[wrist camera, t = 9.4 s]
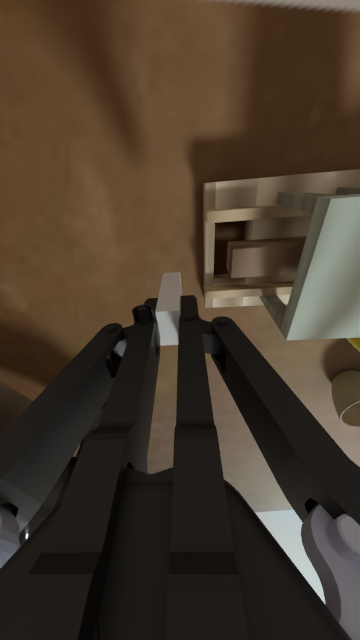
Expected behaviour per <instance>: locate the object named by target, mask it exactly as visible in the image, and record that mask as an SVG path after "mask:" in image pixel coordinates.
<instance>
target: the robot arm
mask: <svg viewBox="0 0 360 640" xmlns="http://www.w3.org/2000/svg"><path fill="white" fill-rule="evenodd" d="M132 313H133V317H134V321H135V322H134V325H132V326H129V327H125V328H122V325H120V324H118V323H112V324H108V325H106V326H105V327H103V328H102V329H101V330H100V331H99V332H98V333H97V334H96V335H95V336H94V338H93V339H92V340H91V341H90V342H89V343H88V344H87V345H86V346H85V347H84V348H83V349H82V350H81V351H80V352H79V353H78V355H77V356H76V357H75V358H74V359H73V360H72V361H71V362H70V363H69V364H68V365H67V366H66V367H65V368H64V369H63V370H62V372H61V373H60V374H59V375H58V376H57V377H56V378H55V379H54V380H53V381H52V382H51V383H50V384H49V385H48V386H47V387H46V389H45V390H44V391H43V392H42V393H41V394H40V395H39V396H38V397H37V398H36V399H35V400H34V401H33V402H32V404H30V406H29V407H28V408H27V409H26V410H25V411H24V412H23V413H22V414H21V415H20V416H19V417H18V418H17V419H16V421H15V422H14V423H13V424H12V425H11V426H10V427H9V428H8V429H7V430H6V431H5V432H4V433H3V434H2V435H1V437H0V640H360V467H359V466H357V465H356V464H355V463H354V462H353V461H351V460H350V459H349V458H348V457H347V455H346V454H345V453H344V452H343V451H342V450H341V448H340V447H339V446H338V445H337V444H336V442H335V441H334V440H333V439H332V438H331V436H330V435H329V434H328V433H327V432H326V431H325V429H324V428H323V427H322V426H321V425H320V423H319V422H318V421H317V420H316V419H315V417H314V416H313V415H312V414H311V413H310V412H309V410H308V409H307V408H306V407H305V406H304V404H303V403H302V402H301V401H300V400H299V398H298V397H297V396H296V395H295V394H294V393H293V391H292V390H291V389H290V388H289V387H288V385H287V384H286V383H285V382H284V381H283V379H282V378H281V377H280V376H279V375H278V374H277V372H276V371H275V370H274V369H273V368H272V366H271V365H270V364H269V363H268V362H267V360H266V359H265V358H264V357H263V356H262V355H261V353H260V352H259V351H258V350H257V349H256V347H255V346H254V345H253V344H252V343H251V341H250V340H249V339H248V338H247V337H246V336H245V334H244V333H243V332H242V331H241V330H240V328H239V327H238V326H237V325H236V324H235V322H234V321H233V320H232V319H230V318H228V317H216V318H214V319H213V320H212V322H208V321H204V320H202V319H201V318H200V317H199V314H198V307H197V299H196V297H195V296H194V295H189V296H182V289H181V276H180V272H172V273H163V277H162V282H161V287H160V292H159V296H158V298H149V299H147V300H146V301H145V303H144V305H139V306H136V307H135V308H133V310H132ZM160 343H161V345H178V376H177V416H176V427H175V433H174V460H173V468H170V469H167V470H164V471H161V472H158V473H155V474H147V453H148V445H149V437H150V429H151V421H152V413H153V405H154V397H155V389H156V381H157V373H158V365H159V357H160V346H159V344H160ZM205 353H209V354H211V357H212V359H213V361H214V363H215V365H216V366H217V368H218V370H219V372H220V374H221V376H222V378H223V380H224V382H225V384H226V385H227V387H228V389H229V391H230V393H231V395H232V397H233V399H234V401H235V403H236V405H237V406H238V408H239V410H240V412H241V414H242V416H243V418H244V420H245V422H246V424H247V425H248V427H249V429H250V431H251V433H252V435H253V437H254V439H255V441H256V443H257V445H258V446H259V448H260V450H261V452H262V454H263V456H264V458H265V460H266V462H267V464H268V465H269V467H270V469H271V471H272V473H273V475H274V477H275V479H276V481H277V483H278V484H279V486H280V488H281V490H282V491H283V493H284V495H285V497H286V498H287V500H288V502H289V503H290V505H291V506H292V507H293V509H294V510H295V512H296V513H297V515H298V516H299V518H300V519H301V520H302V522H303V524H302V529H301V537H302V543H303V546H304V549H305V552H306V554H307V556H308V558H309V560H310V561H311V563H312V565H313V567H314V569H315V570H316V572H317V574H318V576H319V579H320V581H321V584H322V587H323V591H324V596H325V601H326V605H325V604H324V603H323V601H322V600H321V599H320V597H319V596H318V595H317V593H316V592H315V591H314V590H313V588H312V587H311V586H310V585H309V583H308V582H307V580H306V579H305V578H304V577H303V575H302V574H301V573H300V571H299V570H298V569H297V567H296V566H295V565H294V563H293V562H292V561H291V559H290V558H289V557H288V556H287V554H286V553H285V552H284V550H283V549H282V548H281V546H280V545H279V544H278V543H277V541H276V540H275V539H274V537H273V536H272V535H271V533H270V532H269V531H268V529H267V528H266V527H265V525H264V524H263V523H262V522H261V520H260V519H259V518H258V516H257V515H256V514H255V512H254V511H253V510H252V508H251V507H250V506H249V504H248V503H247V502H246V501H245V499H244V498H243V497H242V495H241V494H240V493H239V492H238V491H237V490H236V489H235V488H234V487H233V486H232V485H231V484H229V483H228V482H227V481H225V480H224V478H223V471H222V464H221V457H220V450H219V443H218V436H217V430H216V426H215V425H214V419H213V412H212V404H211V397H210V390H209V382H208V375H207V367H206V360H205ZM108 356H109V357H108ZM107 357H108V359H107ZM107 399H108V400H107ZM79 444H80V447H79V450H78V452H77V455H76V457H72V456H73V454H74V453H75V451H76V449H77V448H78V446H79Z"/></svg>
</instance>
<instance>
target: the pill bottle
mask: <svg viewBox="0 0 360 640" xmlns="http://www.w3.org/2000/svg"><path fill="white" fill-rule="evenodd" d="M346 339H347V340H348V341H349V342H350V343H351V344H352V345H353V346H354V347H355V348H356V349H357V350H358V351H359V352H360V337H359V338H346Z"/></svg>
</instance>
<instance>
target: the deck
mask: <svg viewBox="0 0 360 640" xmlns="http://www.w3.org/2000/svg"><path fill="white" fill-rule="evenodd" d="M244 220H246V225H245V234H244V241H245V240H258V239H272V238H285V237H299V236H307V237H306V241H305V244H304V248H303V251H302V255H301V259H300V262H299V266H298V269H297V273H296V274H289V275H273V276H256V277H240V278H231V277H230V275H229V274H214V240H215V223H218V222H231V221H244ZM203 247H204V302H205V308H214V307H234V306H254V305H265V307H266V309H267V310H268V312H269V313H270V315H271V317H272V318H273V320H274V321H275V323H276V324H277V326H278V328H279V329H280V331H281V332H282V334H283V336H284V337H285V339H286V340H306V339H333V338H359V337H360V169H353V170H342V171H331V172H319V173H308V174H297V175H286V176H275V177H264V178H252V179H241V180H230V181H219V182H208V183H203ZM284 304H288V305H287V307H286V306H285V305H284Z"/></svg>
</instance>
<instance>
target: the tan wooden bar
mask: <svg viewBox="0 0 360 640" xmlns="http://www.w3.org/2000/svg"><path fill="white" fill-rule="evenodd" d="M306 237H307V236H299V237H285V238H272V239H258V240H245V241H232V242H228V248H227V264H226V268H227V271H228V273H229V275H230V277H231V278H240V277H256V276H273V275H289V274H296V273H297V269H298V266H299V262H300V259H301V255H302V251H303V248H304V244H305V241H306Z"/></svg>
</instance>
